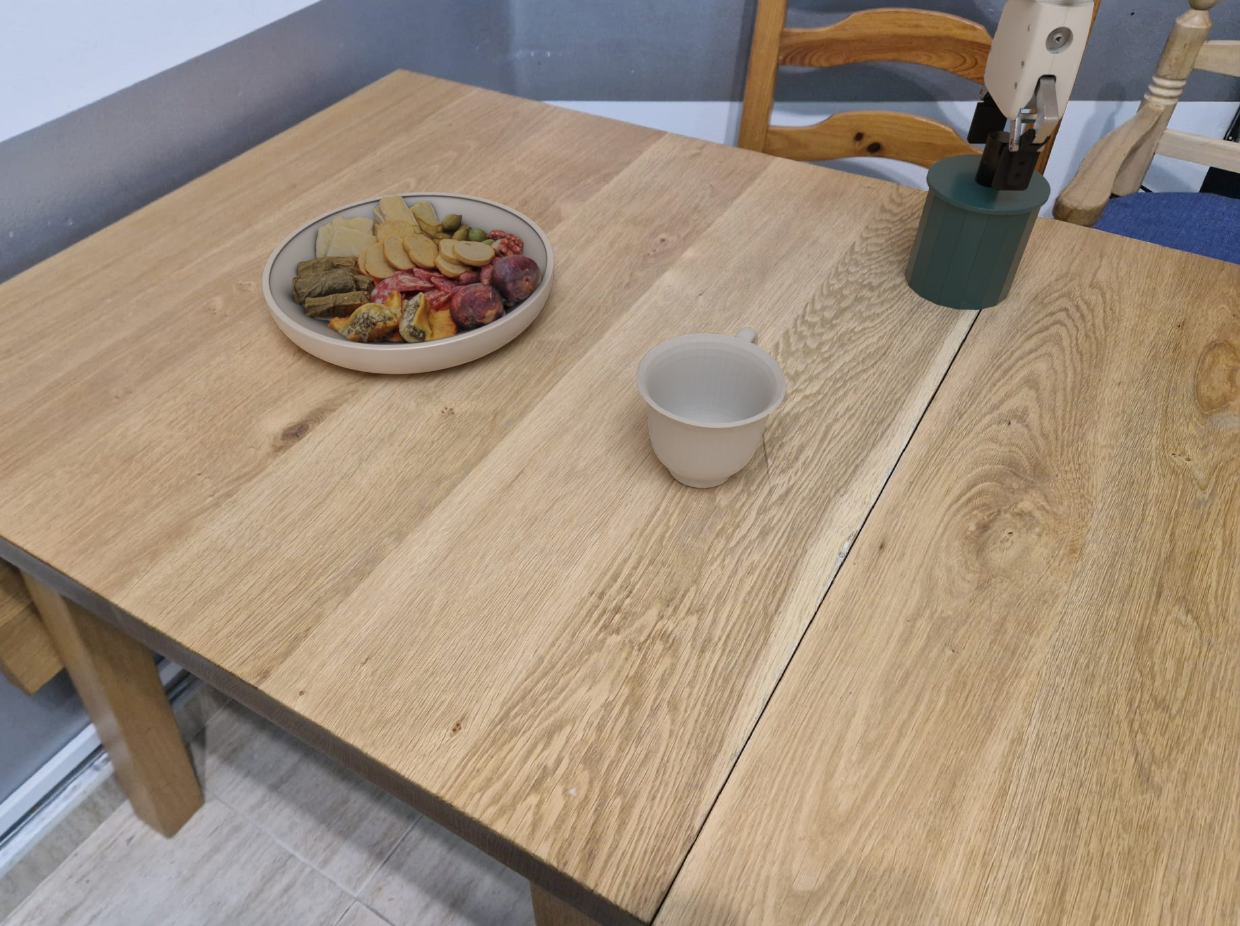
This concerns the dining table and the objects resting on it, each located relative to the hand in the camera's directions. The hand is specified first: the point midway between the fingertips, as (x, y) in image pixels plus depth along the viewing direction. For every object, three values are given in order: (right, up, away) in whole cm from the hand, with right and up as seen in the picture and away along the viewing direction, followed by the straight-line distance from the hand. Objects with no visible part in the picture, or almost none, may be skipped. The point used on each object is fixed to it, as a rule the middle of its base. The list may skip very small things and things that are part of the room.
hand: (995, 164), depth 91 cm
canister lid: (0, -1, +2) cm, 2 cm away
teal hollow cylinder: (0, -9, +10) cm, 14 cm away
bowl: (-58, -12, +9) cm, 60 cm away
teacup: (-29, -29, -8) cm, 42 cm away
